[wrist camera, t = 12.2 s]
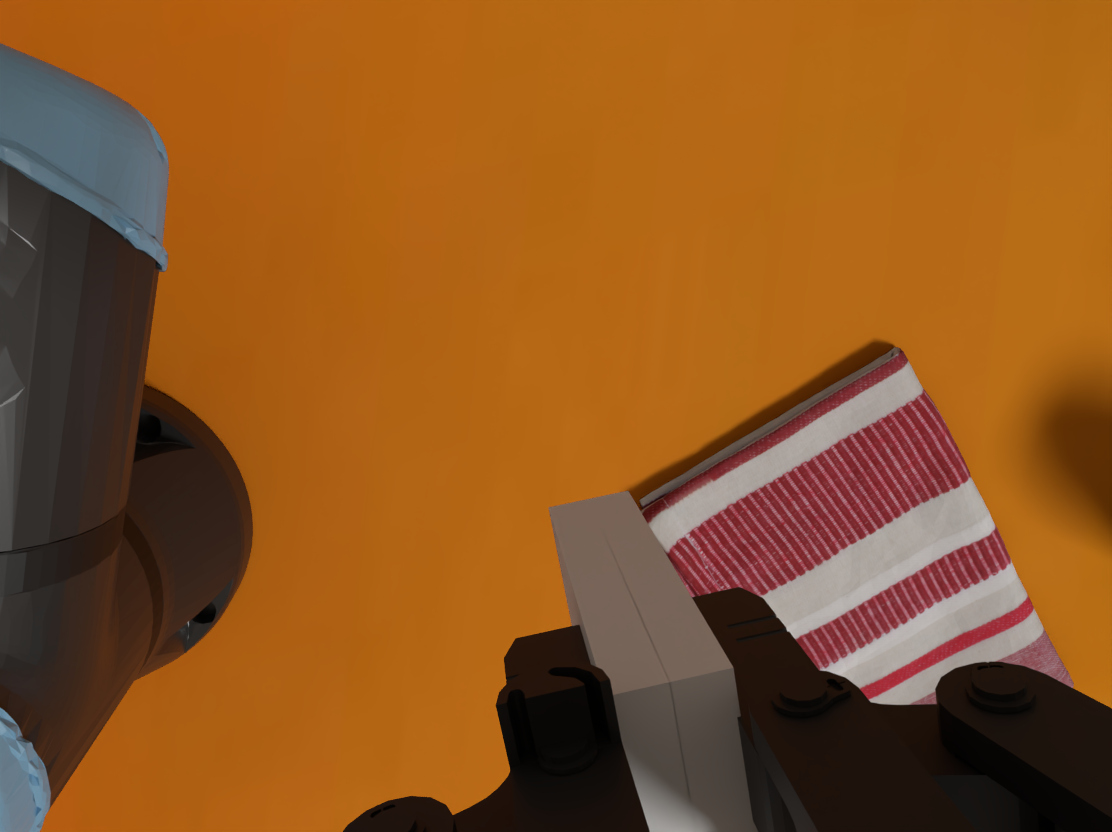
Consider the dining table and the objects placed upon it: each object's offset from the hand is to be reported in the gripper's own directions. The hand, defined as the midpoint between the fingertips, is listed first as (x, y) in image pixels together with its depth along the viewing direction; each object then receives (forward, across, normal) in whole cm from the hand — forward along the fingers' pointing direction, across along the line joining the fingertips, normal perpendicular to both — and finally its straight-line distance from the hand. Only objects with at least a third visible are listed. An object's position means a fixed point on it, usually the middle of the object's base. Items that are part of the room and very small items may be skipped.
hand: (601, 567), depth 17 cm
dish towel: (+30, +16, -18) cm, 39 cm away
